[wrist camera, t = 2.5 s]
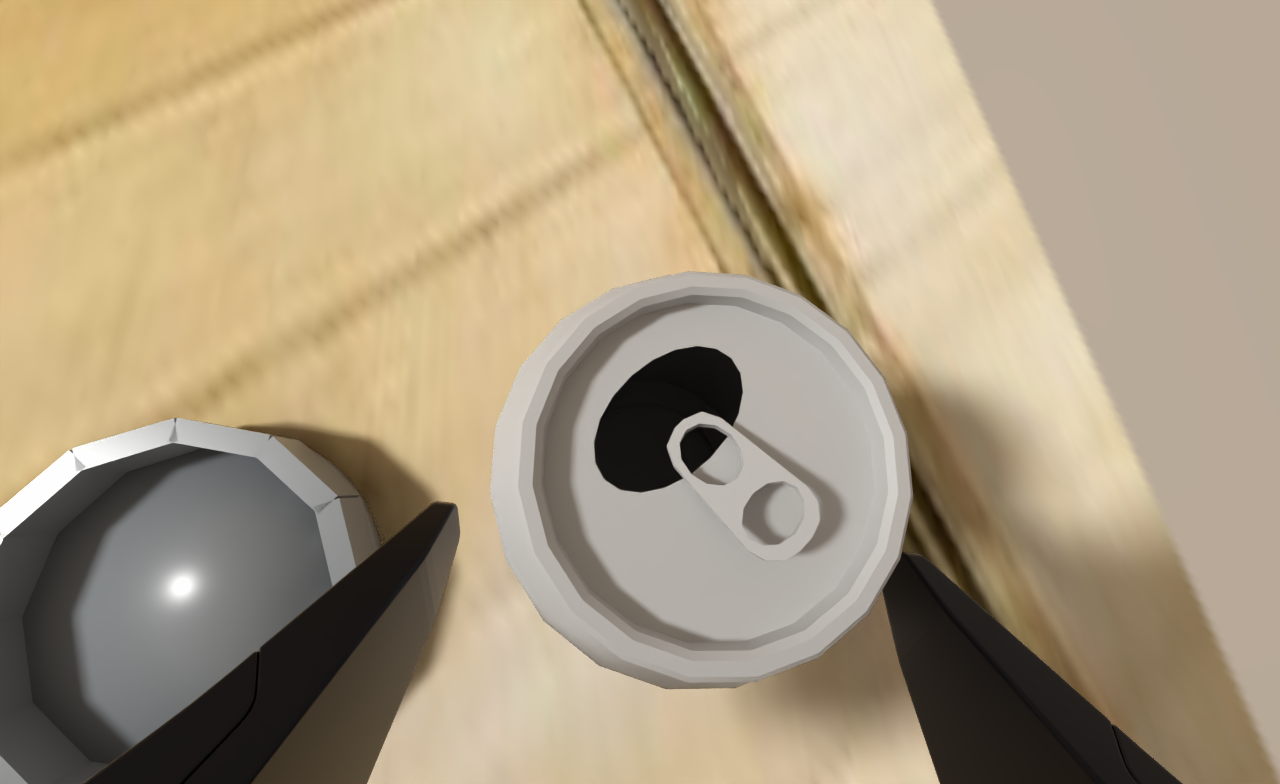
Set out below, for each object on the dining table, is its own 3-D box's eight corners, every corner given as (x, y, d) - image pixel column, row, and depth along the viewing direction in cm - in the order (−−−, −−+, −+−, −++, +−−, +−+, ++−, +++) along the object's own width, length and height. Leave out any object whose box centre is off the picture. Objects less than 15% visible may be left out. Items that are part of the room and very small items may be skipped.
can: (646, 348, 20) (719, 144, 8) (774, 480, 19) (1055, 467, 7) (507, 474, 18) (348, 449, 7) (641, 622, 18) (731, 887, 6)
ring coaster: (452, 571, 17) (433, 583, 15) (185, 871, 15) (119, 933, 13) (229, 369, 18) (182, 353, 16) (-60, 622, 16) (-159, 643, 14)
